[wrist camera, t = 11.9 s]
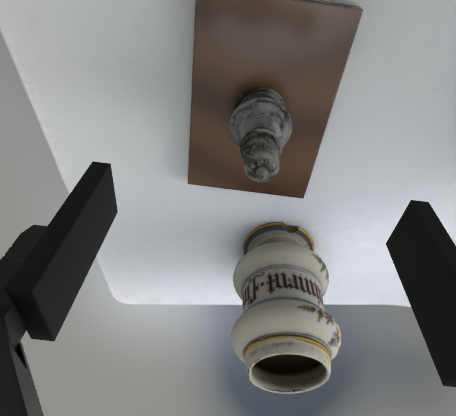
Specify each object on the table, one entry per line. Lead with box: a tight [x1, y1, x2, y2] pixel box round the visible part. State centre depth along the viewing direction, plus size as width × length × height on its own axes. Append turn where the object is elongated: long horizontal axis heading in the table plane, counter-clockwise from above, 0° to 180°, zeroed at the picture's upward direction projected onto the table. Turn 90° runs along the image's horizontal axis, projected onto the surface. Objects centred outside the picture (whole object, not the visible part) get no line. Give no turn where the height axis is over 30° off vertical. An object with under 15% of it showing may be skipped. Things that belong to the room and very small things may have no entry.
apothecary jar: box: [231, 223, 341, 394], centre depth 41 cm, size 12×12×18 cm
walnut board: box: [188, 0, 363, 198], centre depth 35 cm, size 20×14×1 cm
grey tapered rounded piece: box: [229, 87, 292, 182], centre depth 30 cm, size 6×6×12 cm
